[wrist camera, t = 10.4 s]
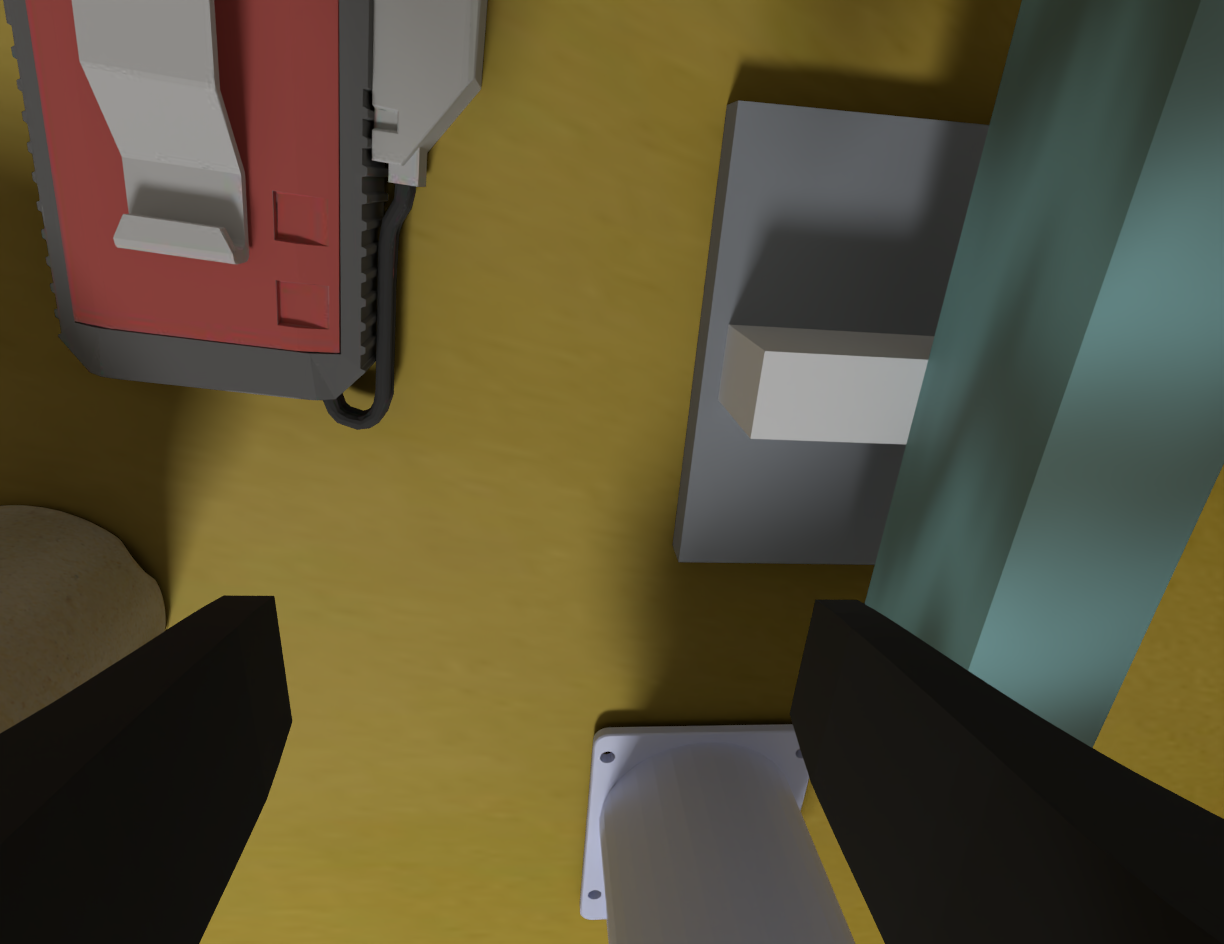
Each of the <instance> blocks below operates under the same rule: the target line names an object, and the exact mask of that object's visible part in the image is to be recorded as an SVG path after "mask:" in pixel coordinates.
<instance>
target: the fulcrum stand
mask: <svg viewBox="0 0 1224 944" xmlns="http://www.w3.org/2000/svg"><path fill="white" fill-rule="evenodd" d="M988 129H989V125H982V124H972V123H962V122H952V121H942V120H932V119H922V118H912V117H901V116H891V115H881V114H871V113H861V112H851V111H841V110H830V109H820V108H810V107H800V106H790V105H780V104H770V103H760V102H749V101H739V100H738V101H736V102H734V103H731V104H729V105H727V110H726V118H725V126H724V134H723V142H722V150H721V158H720V166H719V174H718V182H717V190H716V198H715V207H714V215H713V223H712V231H711V239H710V247H709V255H708V263H707V271H706V279H705V287H704V295H703V303H702V311H701V320H700V328H699V336H698V344H697V352H696V360H695V368H694V376H693V384H692V392H691V400H690V408H689V416H688V424H687V433H686V441H685V449H684V457H683V465H682V473H681V481H680V489H679V497H678V505H677V513H676V521H675V529H674V537H673V548H674V551H675V553H676V556H677V559H678V562H710V563H785V564H859V565H875V562H876V559H877V555H878V551H879V547H880V543H881V539H882V536H883V532H884V528H885V524H886V520H887V516H888V513H889V509H890V505H891V501H892V497H893V493H894V490H895V486H896V482H897V478H898V474H899V470H900V466H901V463H902V459H903V455H904V451H905V447H906V443H907V440H908V436H909V432H910V428H911V424H912V420H913V417H914V413H915V409H916V405H917V401H918V397H919V394H920V390H921V386H922V382H923V378H924V374H925V371H926V367H927V363H928V359H929V355H930V351H931V348H932V344H933V340H934V336H935V332H936V328H937V325H938V321H939V317H940V313H941V309H942V305H943V302H944V298H945V294H946V290H947V286H948V282H949V278H950V275H951V271H952V267H953V263H954V259H955V255H956V252H957V248H958V244H959V240H960V236H961V232H962V229H963V225H964V221H965V217H966V213H967V209H968V206H969V202H970V198H971V194H972V190H973V186H974V183H975V179H976V175H977V171H978V167H979V163H980V160H981V156H982V152H983V148H984V144H985V140H986V137H987V133H988Z"/></svg>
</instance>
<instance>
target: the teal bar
mask: <svg viewBox="0 0 1224 944" xmlns="http://www.w3.org/2000/svg"><path fill="white" fill-rule="evenodd" d="M1223 464H1224V0H1022V2H1021V6H1020V10H1019V14H1018V18H1017V21H1016V25H1015V29H1014V33H1013V37H1012V41H1011V44H1010V48H1009V52H1008V56H1007V60H1006V64H1005V67H1004V71H1003V75H1002V79H1001V83H1000V87H999V90H998V94H997V98H996V102H995V106H994V110H993V114H992V117H991V121H990V125H989V129H988V133H987V137H986V140H985V144H984V148H983V152H982V156H981V160H980V163H979V167H978V171H977V175H976V179H975V183H974V186H973V190H972V194H971V198H970V202H969V206H968V209H967V213H966V217H965V221H964V225H963V229H962V232H961V236H960V240H959V244H958V248H957V252H956V255H955V259H954V263H953V267H952V271H951V275H950V278H949V282H948V286H947V290H946V294H945V298H944V302H943V305H942V309H941V313H940V317H939V321H938V325H937V328H936V332H935V336H934V340H933V344H932V348H931V351H930V355H929V359H928V363H927V367H926V371H925V374H924V378H923V382H922V386H921V390H920V394H919V397H918V401H917V405H916V409H915V413H914V417H913V420H912V424H911V428H910V432H909V436H908V440H907V443H906V447H905V451H904V455H903V459H902V463H901V466H900V470H899V474H898V478H897V482H896V486H895V490H894V493H893V497H892V501H891V505H890V509H889V513H888V516H887V520H886V524H885V528H884V532H883V536H882V539H881V543H880V547H879V551H878V555H877V559H876V562H875V566H874V570H873V574H872V578H871V582H870V585H869V589H868V593H867V597H866V601H865V605H867V606H869V607H871V608H873V609H874V610H876V611H878V612H879V613H881V614H883V615H884V616H886V617H887V618H889V619H891V620H892V621H894V622H895V623H897V624H898V625H900V626H901V627H903V628H904V629H906V630H908V631H909V632H911V633H912V634H914V635H915V636H917V637H918V638H920V639H921V640H923V641H924V642H926V643H927V644H929V645H930V646H932V647H933V648H935V649H936V650H938V651H939V652H941V653H942V654H944V655H945V656H947V657H948V658H950V659H951V660H953V661H954V662H956V663H957V664H959V665H960V666H962V667H963V668H965V669H966V670H968V671H969V672H971V673H972V674H974V675H976V676H977V677H979V678H980V679H982V680H983V681H985V682H986V683H988V684H989V685H991V686H992V687H994V688H996V689H997V690H999V691H1000V692H1002V693H1003V694H1005V695H1006V696H1008V697H1010V698H1011V699H1013V700H1014V701H1016V702H1017V703H1019V704H1021V705H1022V706H1024V707H1025V708H1027V709H1029V710H1030V711H1032V712H1033V713H1035V714H1037V715H1038V716H1040V717H1041V718H1043V719H1045V720H1046V721H1048V722H1050V723H1051V724H1053V725H1055V726H1056V727H1058V728H1060V729H1061V730H1063V731H1065V732H1066V733H1068V734H1070V735H1071V736H1073V737H1075V738H1076V739H1078V740H1080V741H1082V742H1083V743H1085V744H1087V745H1088V746H1090V747H1093V745H1094V743H1095V741H1096V739H1097V737H1098V735H1099V732H1100V730H1101V728H1102V726H1103V724H1104V722H1105V719H1106V717H1107V715H1108V713H1109V711H1110V709H1111V706H1112V704H1113V702H1114V700H1115V698H1116V696H1117V693H1118V691H1119V689H1120V687H1121V685H1122V683H1123V680H1124V678H1125V676H1126V674H1127V672H1128V670H1129V667H1130V665H1131V663H1132V661H1133V659H1134V657H1135V654H1136V652H1137V650H1138V648H1139V646H1140V644H1141V641H1142V639H1143V637H1144V635H1145V633H1146V631H1147V629H1148V626H1149V624H1150V622H1151V620H1152V618H1153V616H1154V613H1155V611H1156V609H1157V607H1158V605H1159V603H1160V600H1161V598H1162V596H1163V594H1164V592H1165V590H1166V587H1167V585H1168V583H1169V581H1170V579H1171V577H1172V574H1173V572H1174V570H1175V568H1176V566H1177V564H1178V561H1179V559H1180V557H1181V555H1182V553H1183V551H1184V548H1185V546H1186V544H1187V542H1188V540H1189V538H1190V535H1191V533H1192V531H1193V529H1194V527H1195V525H1196V523H1197V520H1198V518H1199V516H1200V514H1201V512H1202V510H1203V507H1204V505H1205V503H1206V501H1207V499H1208V497H1209V494H1210V492H1211V490H1212V488H1213V486H1214V484H1215V481H1216V479H1217V477H1218V475H1219V473H1220V471H1221V468H1222V466H1223Z"/></svg>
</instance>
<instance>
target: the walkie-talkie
mask: <svg viewBox="0 0 1224 944" xmlns="http://www.w3.org/2000/svg"><path fill="white" fill-rule="evenodd" d="M3 1H4V8H5V14H6V20H7V23H8V24H10V25H12V31H13V37H14V43H15V45H14V46H13V47H11V49H12V55H13V57H14V58H16V59H17V62H18V67H19V73H20V79H18V80H17V85H18V89H19V90H20V91H22V93H23V99H24V105H25V111H23V112H22V116H23V121H25V122H26V123H27V124H28V129H29V135H30V142H28V143H27V146H28V151H29V152H30V153H32V154H33V161H34V167H35V172H32V177H33V181H34V182H36V183H37V185H38V191H39V198H40V201H37V207H38V210H39V211H41V212H42V216H43V222H44V227H45V229H42V230H41V232H42V238H44V239H45V240H46V241H47V247H48V253H49V256H48V257H46V262H47V265H48V266H50V267H51V272H52V278H53V283H51V284H50V287H51V291H52V292H53V293H55V296H56V303H57V309H54V311H55V317H57V318H58V319H59V321H60V327H61V334H58V337H59V338H60V339H61V340H62V341H63V342H64V344H65V345H66V346H67V347H68V348H69V349H70V350H71V352H72V353H73V354H74V355H75V356H76V357H77V358H78V360H79V361H80V362H81V363H82V364H83V365H84V366H85V367H86V369H87V370H88V371H89V372H91V373H93V374H96V375H98V376H101V377H107V378H114V379H122V380H132V381H141V382H150V383H159V384H168V385H177V386H186V387H196V388H205V389H214V390H223V391H232V392H241V393H250V394H259V395H269V396H278V397H287V398H296V399H307V400H323V402H324V404H325V406H326V409H327V411H328V413H329V414H330V415H331V416H332V418H333V419H334V420H335V421H336V422H337V423H340V424H342V425H345V426H348V427H351V428H354V429H357V430H359V429H367V428H371V427H373V426H374V425H376V424H377V423H379V422H380V420H381V419H382V418H383V417H384V415H385V413H386V412H387V411H388V409H389V406H390V403H391V400H392V397H393V394H394V358H395V320H396V282H397V262H398V245H399V233H400V229H401V226H402V224H403V221H404V220H405V218H406V216H407V215H408V213H409V212H410V210H411V208H412V205H413V201H414V197H415V193H416V187H426V170H427V153H428V151H429V150H430V149H431V148H432V147H433V145H434V144H435V143H436V142H437V141H438V140H439V138H440V137H441V136H442V135H443V134H444V132H445V131H446V130H447V129H448V128H449V126H450V125H451V124H452V123H453V122H454V120H455V119H456V118H457V117H458V116H459V115H460V113H461V112H462V111H463V110H464V109H465V107H466V106H467V105H468V104H469V103H470V101H471V100H472V99H473V98H474V97H475V96H476V94H477V93H478V92H479V91H480V89H481V83H482V69H483V55H484V42H485V28H486V14H487V1H488V0H3ZM385 163H389V169H387V168H385ZM385 177H388V182H391V183H395V195H394V199H393V201H392V203H391V204H390V206H389V208H388V210H387V211H386V213H385V215H384V202H386V201H388V193H386V192H384V181H385ZM375 361H376V391H375V397H374V402H373V404H372V406H371V408H370V409H368V410H364V411H363V410H360V409H357V408H354V407H351V406H350V405H349V404H347V403H346V401H345V398H344V396H343V392H344V391H345V390H346V389H347V388H348V387H349V386H351V385H352V384H353V383H354V382H355V381H356V380H357V379H358V378H360V377H361V376H362V375H363V374H364V373H365V372H366V371H367V370H368V369H369V368H370V367H371V366H372V365H373V364H374V362H375Z"/></svg>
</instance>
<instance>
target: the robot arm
mask: <svg viewBox="0 0 1224 944" xmlns="http://www.w3.org/2000/svg"><path fill="white" fill-rule="evenodd" d="M790 717H791V720H792V724H780V725H719V726H659V727H608V728H603V729H601V730H599V731H598V732H597V733H596V734H595V735H594V738H593V748H592V760H591V773H590V785H589V797H588V809H587V821H586V833H585V846H584V858H583V870H582V882H581V894H580V913H581V915H582V916H583V917H584V918H586V919H590V920H596V919H607V929H608V941H609V944H855V942H854V939H853V937H852V934H851V932H850V930H849V927H848V925H847V922H846V920H845V918H844V915H843V913H842V910H841V908H840V906H839V903H838V901H837V898H836V896H835V894H834V891H833V889H832V886H831V884H830V882H829V879H828V877H827V874H826V872H825V870H824V867H823V865H822V862H821V860H820V857H819V855H818V853H817V850H816V848H815V845H814V843H813V841H812V838H811V836H810V833H809V831H808V829H807V826H806V824H805V821H804V819H803V817H802V814H801V812H800V811H801V807H802V803H803V800H804V796H805V792H806V788H807V784H808V780H809V778H810V781H811V783H812V786H813V788H814V790H815V793H816V795H817V797H818V799H819V802H820V804H821V806H822V808H823V810H824V813H825V815H826V817H827V819H828V821H829V824H830V826H831V828H832V830H833V832H834V835H835V837H836V839H837V841H838V843H839V845H840V848H841V850H842V852H843V854H844V856H845V858H846V861H847V863H848V865H849V867H850V869H851V871H852V873H853V876H854V878H855V880H856V882H857V884H858V886H859V888H860V891H861V893H862V895H863V897H864V899H865V901H866V903H867V906H868V908H869V910H870V912H871V914H872V916H873V919H874V921H875V923H876V925H877V927H878V929H879V931H880V934H881V936H882V938H883V940H884V942H885V944H1224V819H1223V818H1221V817H1219V816H1217V815H1215V814H1213V813H1211V812H1209V811H1207V810H1205V809H1203V808H1201V807H1200V806H1198V805H1196V804H1194V803H1192V802H1190V801H1188V800H1186V799H1184V798H1183V797H1181V796H1179V795H1177V794H1175V793H1173V792H1171V791H1169V790H1167V789H1166V788H1164V787H1162V786H1160V785H1158V784H1156V783H1154V782H1152V781H1150V780H1148V779H1147V778H1145V777H1143V776H1141V775H1139V774H1137V773H1135V772H1134V771H1132V770H1130V769H1128V768H1127V767H1125V766H1123V765H1121V764H1119V763H1118V762H1116V761H1114V760H1112V759H1110V758H1109V757H1107V756H1105V755H1103V754H1102V753H1100V752H1098V751H1097V750H1095V749H1093V748H1092V747H1090V746H1088V745H1087V744H1085V743H1083V742H1082V741H1080V740H1078V739H1076V738H1075V737H1073V736H1071V735H1070V734H1068V733H1066V732H1065V731H1063V730H1061V729H1060V728H1058V727H1056V726H1055V725H1053V724H1051V723H1050V722H1048V721H1046V720H1045V719H1043V718H1041V717H1040V716H1038V715H1037V714H1035V713H1033V712H1032V711H1030V710H1029V709H1027V708H1025V707H1024V706H1022V705H1021V704H1019V703H1017V702H1016V701H1014V700H1013V699H1011V698H1010V697H1008V696H1006V695H1005V694H1003V693H1002V692H1000V691H999V690H997V689H996V688H994V687H992V686H991V685H989V684H988V683H986V682H985V681H983V680H982V679H980V678H979V677H977V676H976V675H974V674H972V673H971V672H969V671H968V670H966V669H965V668H963V667H962V666H960V665H959V664H957V663H956V662H954V661H953V660H951V659H950V658H948V657H947V656H945V655H944V654H942V653H941V652H939V651H938V650H936V649H935V648H933V647H932V646H930V645H929V644H927V643H926V642H924V641H923V640H921V639H920V638H918V637H917V636H915V635H914V634H912V633H911V632H909V631H908V630H906V629H904V628H903V627H901V626H900V625H898V624H897V623H895V622H894V621H892V620H891V619H889V618H887V617H886V616H884V615H883V614H881V613H879V612H878V611H876V610H874V609H873V608H871V607H869V606H867V605H865V604H864V603H862V602H860V601H858V600H815V604H814V609H813V613H812V618H811V622H810V626H809V631H808V635H807V640H806V644H805V648H804V653H803V657H802V662H801V666H800V671H799V675H798V679H797V684H796V688H795V693H794V697H793V702H792V706H791V710H790ZM291 724H292V716H291V709H290V702H289V695H288V688H287V681H286V674H285V667H284V661H283V654H282V647H281V640H280V633H279V626H278V619H277V612H276V605H275V598H274V596H222V597H220V598H219V599H217V600H215V601H213V602H211V603H209V604H208V605H206V606H204V607H203V608H201V609H199V610H198V611H196V612H194V613H193V614H191V615H190V616H188V617H186V618H185V619H183V620H182V621H180V622H178V623H177V624H175V625H174V626H172V627H171V628H169V629H167V630H166V631H164V632H163V633H161V634H160V635H158V636H157V637H155V638H153V639H152V640H150V641H149V642H147V643H146V644H144V645H143V646H141V647H139V648H138V649H136V650H135V651H133V652H132V653H130V654H129V655H127V656H125V657H124V658H122V659H121V660H119V661H118V662H116V663H114V664H113V665H111V666H110V667H108V668H106V669H105V670H103V671H102V672H100V673H99V674H97V675H95V676H94V677H92V678H91V679H89V680H88V681H86V682H84V683H83V684H81V685H80V686H78V687H77V688H75V689H73V690H72V691H70V692H69V693H67V694H65V695H64V696H62V697H61V698H59V699H57V700H56V701H54V702H53V703H51V704H49V705H48V706H46V707H44V708H42V709H41V710H39V711H37V712H36V713H34V714H32V715H31V716H29V717H27V718H26V719H24V720H22V721H20V722H19V723H17V724H15V725H14V726H12V727H10V728H9V729H7V730H5V731H4V732H2V733H0V944H199V943H200V941H201V938H202V936H203V934H204V932H205V930H206V928H207V926H208V924H209V922H210V919H211V917H212V915H213V913H214V911H215V909H216V907H217V905H218V903H219V900H220V898H221V896H222V894H223V892H224V890H225V888H226V886H227V884H228V881H229V879H230V877H231V875H232V873H233V871H234V869H235V867H236V865H237V862H238V860H239V858H240V856H241V854H242V852H243V850H244V847H245V845H246V843H247V841H248V839H249V837H250V835H251V832H252V830H253V828H254V826H255V824H256V822H257V819H258V817H259V815H260V813H261V811H262V808H263V806H264V804H265V802H266V800H267V797H268V794H269V791H270V788H271V785H272V782H273V780H274V777H275V774H276V771H277V768H278V765H279V762H280V759H281V756H282V752H283V749H284V746H285V743H286V740H287V736H288V733H289V730H290V727H291ZM798 749H800V750H798ZM608 751H609V752H611V753H609V754H602V753H604V752H608Z"/></svg>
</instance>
